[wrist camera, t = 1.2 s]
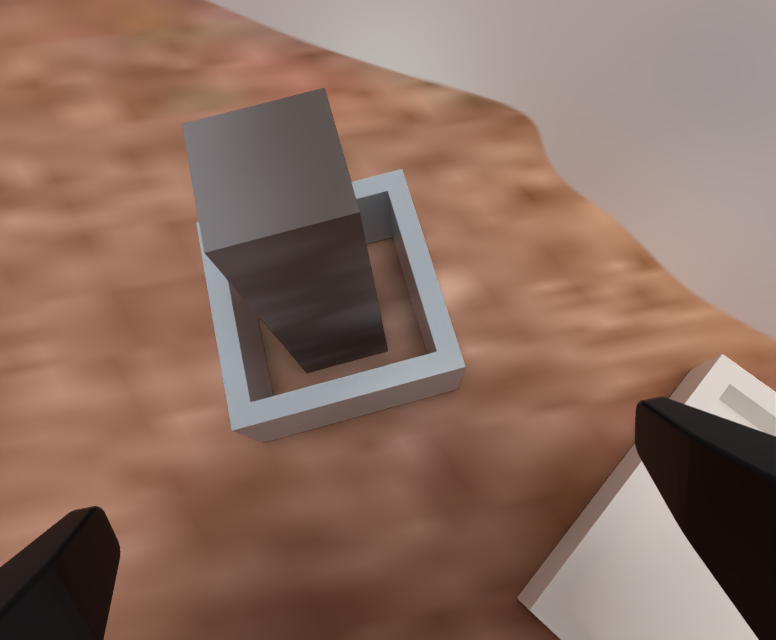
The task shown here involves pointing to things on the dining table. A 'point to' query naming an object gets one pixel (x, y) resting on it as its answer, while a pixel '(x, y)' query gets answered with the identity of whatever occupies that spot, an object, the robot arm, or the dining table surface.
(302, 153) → the dark grey pillar
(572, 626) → the tray
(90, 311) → the dining table surface
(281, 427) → the square frame
